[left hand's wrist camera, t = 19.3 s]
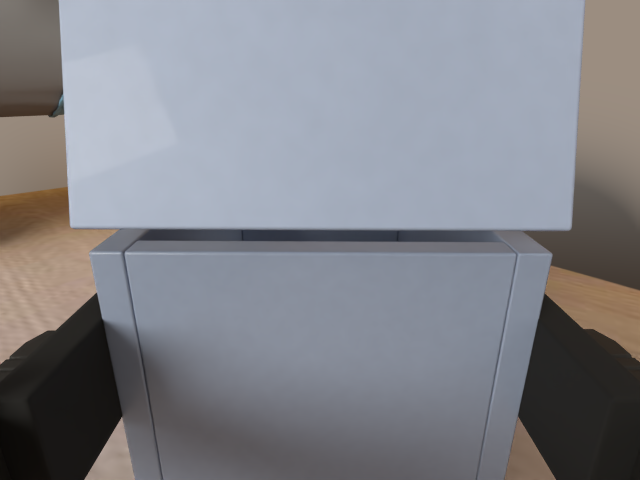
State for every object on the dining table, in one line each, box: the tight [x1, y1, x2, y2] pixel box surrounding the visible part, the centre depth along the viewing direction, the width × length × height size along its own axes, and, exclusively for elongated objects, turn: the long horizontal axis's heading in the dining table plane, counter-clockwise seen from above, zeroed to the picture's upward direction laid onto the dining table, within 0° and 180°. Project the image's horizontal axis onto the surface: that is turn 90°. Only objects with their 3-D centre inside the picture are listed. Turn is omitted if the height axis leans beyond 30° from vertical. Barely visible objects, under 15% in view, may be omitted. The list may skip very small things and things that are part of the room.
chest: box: [89, 229, 552, 480], centre depth 17 cm, size 13×10×10 cm
